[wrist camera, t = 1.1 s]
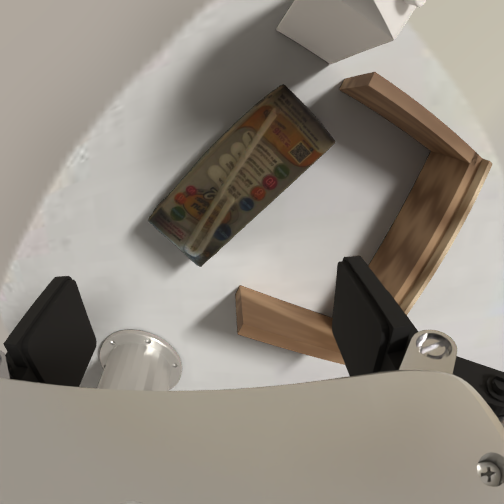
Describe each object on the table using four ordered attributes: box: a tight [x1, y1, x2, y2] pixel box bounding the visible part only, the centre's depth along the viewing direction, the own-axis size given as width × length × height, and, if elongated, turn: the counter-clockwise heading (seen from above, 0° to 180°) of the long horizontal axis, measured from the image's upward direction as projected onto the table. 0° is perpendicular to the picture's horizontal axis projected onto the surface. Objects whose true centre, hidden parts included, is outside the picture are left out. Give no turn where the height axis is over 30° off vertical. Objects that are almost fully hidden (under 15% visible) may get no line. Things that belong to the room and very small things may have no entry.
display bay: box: [235, 72, 492, 365], centre depth 34 cm, size 29×16×9 cm, turn 155°
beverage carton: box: [148, 84, 335, 267], centre depth 32 cm, size 8×19×6 cm, turn 134°
